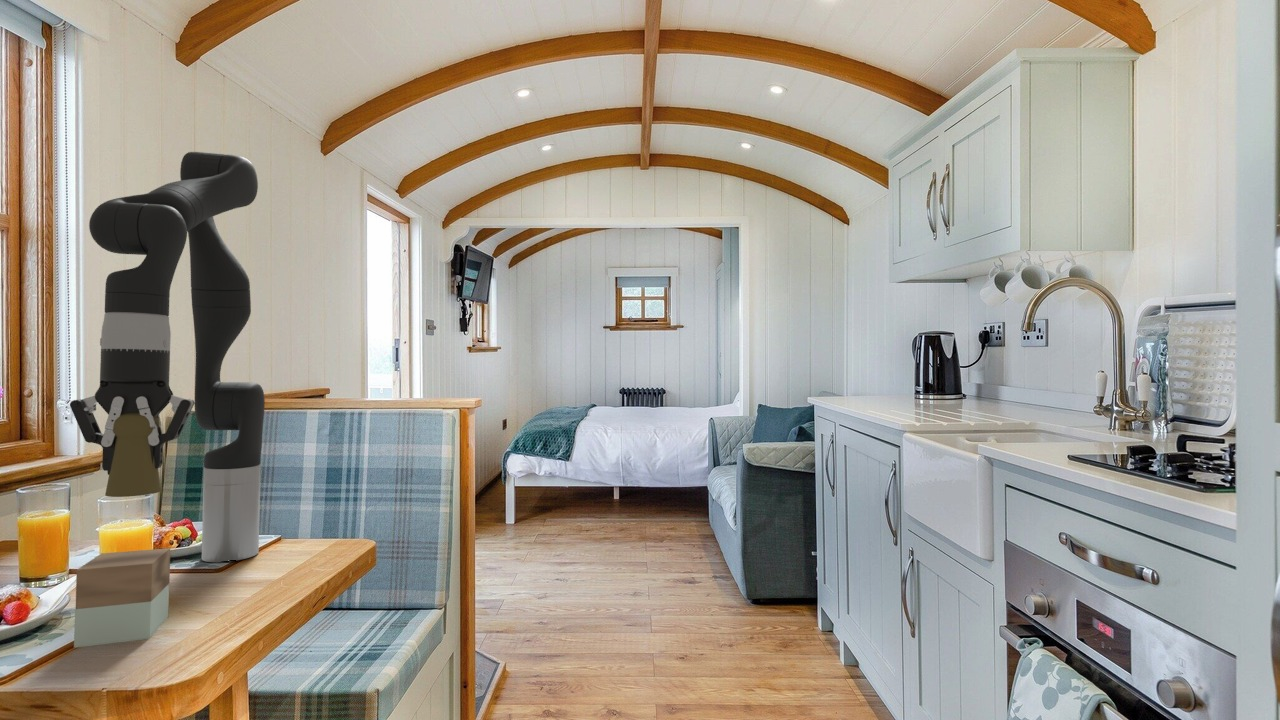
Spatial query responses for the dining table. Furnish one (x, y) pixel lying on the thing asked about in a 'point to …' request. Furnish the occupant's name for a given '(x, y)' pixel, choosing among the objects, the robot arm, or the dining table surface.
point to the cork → (132, 458)
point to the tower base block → (120, 621)
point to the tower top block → (122, 578)
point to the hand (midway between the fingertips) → (132, 472)
